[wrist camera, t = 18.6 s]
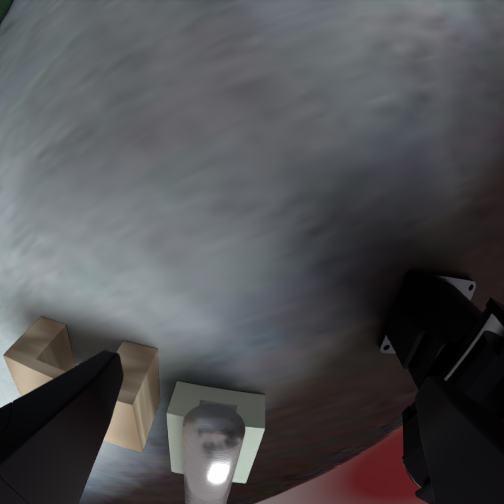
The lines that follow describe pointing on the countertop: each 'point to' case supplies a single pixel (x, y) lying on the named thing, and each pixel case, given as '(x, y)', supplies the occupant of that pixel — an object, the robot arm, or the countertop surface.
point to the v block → (240, 402)
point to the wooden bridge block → (61, 360)
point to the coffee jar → (4, 7)
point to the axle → (210, 452)
